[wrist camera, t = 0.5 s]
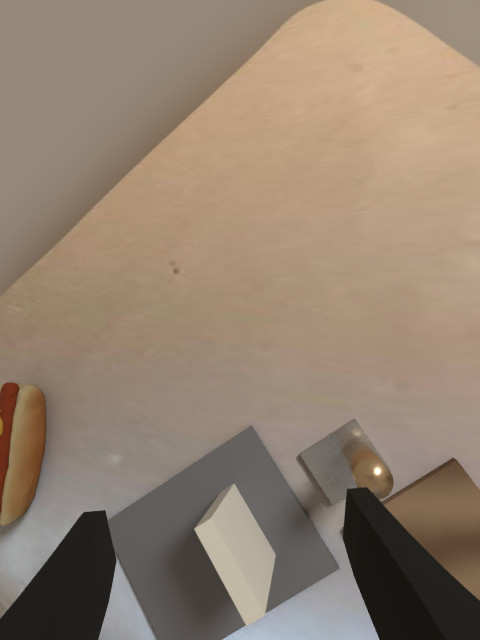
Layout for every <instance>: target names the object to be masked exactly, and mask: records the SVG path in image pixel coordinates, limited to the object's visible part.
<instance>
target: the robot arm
mask: <svg viewBox="0 0 480 640" xmlns="http://www.w3.org/2000/svg"><path fill="white" fill-rule="evenodd" d="M343 540H344V544H345V547H346V551H347V554H348V558H349V561H350V564H351V568H352V571H353V574H354V577H355V580H356V582H357V585H358V587H359V590H360V592H361V595H362V597H363V600H364V602H365V605H366V607H367V610H368V612H369V615H370V617H371V620H372V622H373V625H374V627H375V629H376V632H377V634H378V637H379V639H380V640H480V600H479V599H477V598H476V597H475V596H474V595H473V594H472V593H471V592H470V591H469V590H467V589H466V588H465V587H464V586H463V585H462V584H461V583H460V582H459V581H458V580H457V579H456V578H455V577H453V576H452V575H451V574H450V573H449V572H448V571H447V570H446V569H445V568H444V567H443V566H442V565H441V564H440V563H439V562H438V561H437V560H436V559H435V558H434V557H433V556H432V555H431V554H430V553H429V552H428V551H427V550H426V549H425V548H424V547H423V546H422V545H421V544H420V543H419V542H418V541H417V540H416V539H415V538H414V537H413V536H412V535H411V534H410V533H409V532H408V531H407V530H406V529H405V528H404V527H403V526H402V524H401V523H400V522H399V521H398V520H397V519H396V518H395V517H394V516H393V515H392V514H391V513H390V512H389V510H388V509H387V508H386V507H385V506H384V505H383V504H382V503H381V502H380V501H379V499H378V498H377V497H376V496H375V495H374V494H373V493H372V492H371V491H370V490H369V489H368V488H367V487H362V488H351V489H347V495H346V507H345V519H344V532H343ZM115 566H116V556H115V552H114V547H113V543H112V538H111V534H110V529H109V525H108V521H107V516H106V512H105V510H104V511H92V512H84V513H83V514H82V515H81V516H80V517H79V519H78V520H77V521H76V523H75V524H74V525H73V527H72V528H71V529H70V531H69V532H68V534H67V535H66V536H65V538H64V539H63V540H62V542H61V543H60V544H59V546H58V547H57V548H56V550H55V551H54V552H53V554H52V555H51V556H50V558H49V559H48V560H47V561H46V563H45V564H44V565H43V567H42V568H41V569H40V570H39V572H38V573H37V574H36V576H35V577H34V578H33V579H32V581H31V582H30V583H29V584H28V586H27V587H26V588H25V590H24V591H23V592H22V593H21V595H20V596H19V597H18V598H17V599H16V601H15V602H14V603H13V604H12V605H11V607H10V608H9V609H8V610H7V611H6V613H5V614H4V615H3V616H2V617H1V618H0V640H98V638H99V634H100V631H101V627H102V624H103V620H104V617H105V613H106V610H107V606H108V603H109V598H110V593H111V588H112V582H113V577H114V571H115Z"/></svg>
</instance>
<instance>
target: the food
mask: <svg viewBox="0 0 480 640" xmlns="http://www.w3.org/2000/svg"><path fill="white" fill-rule="evenodd" d="M45 403H46V402H45V397H44V394H43V392H42V391H41V389H39V388H38V387H37V386H34V385H26V386H25V385H21V384H16V383H5V384H2V385H0V525H1V526H4V527H5V526H8V525H9V524H11V523H12V522H14V521H15V520H17V519H18V518H20V517H21V516H22V515H23V514H24V513H25V512H26V511H27V509H28V508H29V506H30V503H31V501H32V500H33V498H34V496H35V492H36V487H37V484H38V480H39V475H40V470H41V464H42V459H43V455H44V451H45V437H46V405H45Z"/></svg>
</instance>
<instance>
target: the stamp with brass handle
mask: <svg viewBox="0 0 480 640" xmlns="http://www.w3.org/2000/svg"><path fill="white" fill-rule="evenodd" d="M300 456H301V457H302V459H303V460H304V462H305V464H306V465H307V467H308V468H309V470H310V471H311V473H312V474H313V476H314V478H315V479H316V481H317V482H318V484H319V485H320V487H321V488H322V490H323V492H324V493H325V495H326V496H327V498H328V499H329V501H330V502H331V504H332V505H334V504H336V503H337V502H339V501H340V500H342V499H344V498H345V497H346V495H347V489H351V488H362V487H367V488H368V489H369V490H370V491H371V492H372V493H373V494H374V495H375V496H376V497H377V498H378V499H382V498H385V497H386V496H388V495H389V494H390V492H391V491H392V488H393V477H392V474H391V472H390V471H389V470H390V468H389V467H388V465H387V464H386V463H385V461H384V460H383V458H382V457H381V455H380V454H379V453H378V451H377V450H376V448H375V447H374V445H373V444H372V443H371V441H370V440H369V438H368V437H367V435H366V434H365V433H364V431H363V430H362V428H361V427H360V426H359V424H358V423H357V421H356V420H355V419H353V420H351V421H349V422H348V423H346V424H345V425H343V426H342V427H340V428H339V429H337V430H336V431H334V432H332V433H331V434H329V435H328V436H326V437H325V438H323V439H322V440H320V441H318V442H317V443H315V444H314V445H312V446H311V447H309V448H308V449H306V450H304V451H303V452H301V453H300Z"/></svg>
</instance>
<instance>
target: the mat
mask: <svg viewBox="0 0 480 640" xmlns="http://www.w3.org/2000/svg"><path fill="white" fill-rule="evenodd" d="M232 484H235V486H236V487H237V489H238V491H239V493H240V494H241V496H242V498H243V499H244V501H245V503H246V504H247V506H248V508H249V510H250V511H251V513H252V515H253V516H254V518H255V520H256V522H257V523H258V525H259V527H260V528H261V530H262V532H263V534H264V535H265V537H266V539H267V540H268V542H269V544H270V546H271V547H272V549H273V551H274V552H275V554H276V557H275V562H274V568H273V573H272V579H271V584H270V590H269V595H268V601H267V606H266V612H268V611H270V610H271V609H273V608H275V607H276V606H278V605H280V604H281V603H283V602H285V601H286V600H288V599H290V598H291V597H293V596H294V595H296V594H298V593H299V592H301V591H303V590H304V589H306V588H308V587H309V586H311V585H313V584H314V583H316V582H318V581H319V580H321V579H323V578H324V577H326V576H328V575H329V574H331V573H332V572H334V571H336V570H337V569H339V565H338V564H337V562H336V561H335V559H334V557H333V556H332V554H331V553H330V551H329V549H328V548H327V546H326V545H325V543H324V541H323V540H322V538H321V536H320V535H319V533H318V532H317V530H316V528H315V527H314V525H313V524H312V522H311V520H310V519H309V517H308V516H307V514H306V512H305V511H304V509H303V508H302V506H301V504H300V503H299V501H298V500H297V498H296V496H295V495H294V493H293V491H292V490H291V488H290V487H289V485H288V483H287V482H286V480H285V479H284V477H283V475H282V474H281V472H280V471H279V469H278V467H277V466H276V464H275V463H274V461H273V459H272V458H271V456H270V454H269V453H268V451H267V450H266V448H265V446H264V445H263V443H262V442H261V440H260V438H259V437H258V435H257V434H256V432H255V430H254V429H253V427H252V426H250V427H249V428H247V429H246V430H244V431H243V432H241V433H240V434H238V435H237V436H235V437H234V438H232V439H230V440H229V441H227V442H226V443H224V444H223V445H221V446H220V447H218V448H217V449H215V450H214V451H212V452H211V453H209V454H208V455H206V456H205V457H203V458H202V459H200V460H199V461H197V462H196V463H194V464H193V465H191V466H190V467H188V468H187V469H185V470H184V471H182V472H180V473H179V474H177V475H176V476H174V477H173V478H171V479H170V480H168V481H167V482H165V483H164V484H162V485H161V486H159V487H158V488H156V489H155V490H153V491H152V492H150V493H149V494H147V495H146V496H144V497H143V498H141V499H140V500H138V501H137V502H135V503H134V504H132V505H130V506H129V507H127V508H126V509H124V510H123V511H121V512H120V513H118V514H117V515H115V516H114V517H112V518H111V519H109V520H108V525H109V529H110V534H111V538H112V543H113V547H114V549H115V551H116V553H117V555H118V557H119V559H120V562H121V564H122V566H123V568H124V570H125V572H126V574H127V576H128V578H129V580H130V582H131V585H132V587H133V589H134V591H135V593H136V595H137V597H138V599H139V601H140V603H141V605H142V608H143V610H144V612H145V614H146V616H147V618H148V620H149V622H150V624H151V626H152V628H153V631H154V633H155V635H156V637H157V639H158V640H222V639H223V638H225V637H227V636H228V635H230V634H232V633H233V632H235V631H237V630H238V629H240V628H242V627H243V626H245V625H246V624H245V622H244V621H243V619H242V617H241V615H240V613H239V611H238V610H237V608H236V606H235V604H234V602H233V600H232V598H231V597H230V595H229V593H228V591H227V589H226V587H225V585H224V584H223V582H222V580H221V578H220V576H219V574H218V572H217V571H216V569H215V567H214V565H213V563H212V561H211V559H210V558H209V556H208V554H207V552H206V550H205V548H204V546H203V545H202V543H201V541H200V539H199V537H198V535H197V533H196V532H195V530H194V528H195V527H196V526H197V524H198V523H199V522H200V520H201V519H202V517H203V516H204V515H205V513H206V512H207V511H208V509H209V508H210V506H211V505H212V504H213V502H214V501H215V499H216V498H217V497H218V495H219V494H220V493H221V491H223V490H225V489H226V488H228V487H229V486H231V485H232ZM266 612H265V613H266Z"/></svg>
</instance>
